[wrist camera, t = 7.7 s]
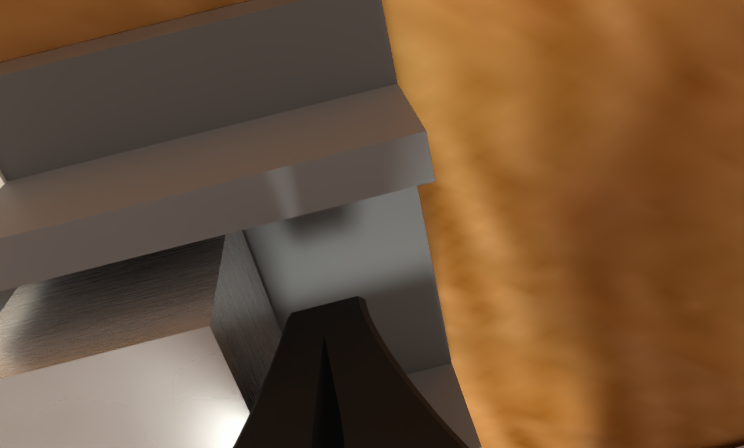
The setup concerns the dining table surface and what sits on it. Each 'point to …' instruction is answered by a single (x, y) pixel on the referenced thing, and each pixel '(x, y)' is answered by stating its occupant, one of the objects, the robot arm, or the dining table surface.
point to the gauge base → (234, 165)
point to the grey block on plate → (138, 351)
